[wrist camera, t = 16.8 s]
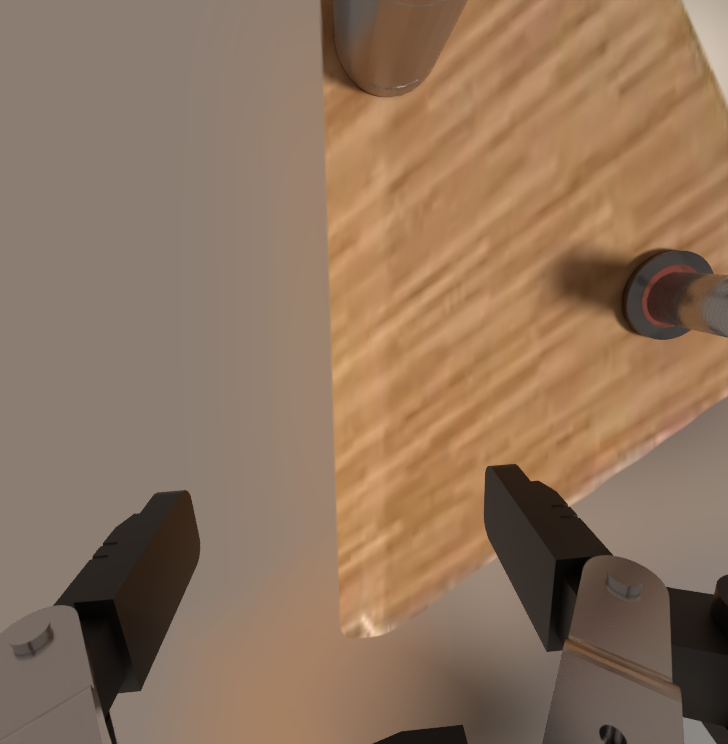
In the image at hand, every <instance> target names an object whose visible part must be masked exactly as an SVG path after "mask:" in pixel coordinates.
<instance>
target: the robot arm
mask: <svg viewBox="0 0 728 744" xmlns="http://www.w3.org/2000/svg"><path fill="white" fill-rule="evenodd" d="M467 1H468V0H334V4H333V5H334V38H335V46H336V51H337V55H338V58H339V60H340V62H341V65H342V67H343V69H344V70H345V72H346V73H347V75H348V76H349V77H350V79H351V80H352V81H353V82H354V83H355V84H356V85H358V86H359V87H360V88H362V89H363V90H365V91H367V92H368V93H371V94H374V95H377V96H382V97H394V96H400V95H403V94H405V93H407V92H410V91H412V90H413V89H414V88H416V87H417V86H418V85H420V84H421V83H422V82H423V81H424V80H425V78H426V77H427V76H428V75H429V73H430V71H431V70H432V68H433V66H434V65H435V63H436V61H437V59H438V57H439V55H440V53H441V51H442V49H443V48H444V46H445V44H446V42H447V40H448V38H449V36H450V34H451V32H452V30H453V28H454V26H455V24H456V22H457V20H458V18H459V17H460V15H461V13H462V11H463V9H464V7H465V5H466V3H467ZM484 523H485V528H486V532H487V536H488V538H489V540H490V542H491V544H492V546H493V548H494V550H495V552H496V554H497V556H498V558H499V560H500V562H501V564H502V566H503V568H504V570H505V571H506V573H507V575H508V577H509V579H510V581H511V583H512V585H513V587H514V589H515V591H516V593H517V595H518V597H519V599H520V601H521V603H522V604H523V606H524V608H525V610H526V612H527V614H528V616H529V618H530V620H531V622H532V624H533V626H534V628H535V630H536V632H537V633H538V636H539V637H540V640H541V641H542V643H543V645H544V647H545V649H546V651H547V652H550V651H560V650H563V651H562V656H561V661H560V665H559V670H558V674H557V679H556V683H555V688H554V692H553V697H552V702H551V706H550V711H549V715H548V720H547V724H546V729H545V733H544V738H543V742H542V744H684V732H683V717H685V718H690V719H694V720H698V721H701V722H702V723H703V725H704V726H705V728H706V729H707V730H708V732H709V733H710V735H711V736H712V737H713V739H714V740H715V742H716V743H717V744H728V575H725V576H723V577H721V578H720V579H719V580H718V581H717V584H716V589H715V593H714V595H712V594H706V593H700V592H693V591H687V590H681V589H674V588H669V587H666V586H665V585H664V583H663V582H662V581H661V579H659V578H658V576H657V575H655V574H654V573H653V572H652V571H650V570H649V569H647V568H646V567H644V566H642V565H640V564H638V563H636V562H634V561H631V560H628V559H626V558H622V557H617V556H613V555H612V553H611V552H610V551H609V550H608V549H607V548H606V547H605V546H604V544H602V542H601V541H600V540H599V539H598V538H597V537H596V536H595V534H594V533H593V532H592V531H591V530H590V529H589V528H588V527H587V525H586V524H585V523H584V522H583V521H582V520H581V519H580V518H578V517H577V514H576V513H575V512H574V511H573V510H572V509H571V507H568V504H567V503H566V502H565V501H564V500H563V498H562V497H561V496H560V495H559V494H558V493H557V492H556V491H555V490H553V489H551V488H550V487H548V486H546V485H545V484H543V483H541V482H540V481H530V480H529V479H528V477H527V476H526V475H525V474H524V473H523V471H522V470H521V469H520V468H519V466H518V465H516V464H508V465H496V466H488V467H487V468H486V472H485V496H484ZM199 555H200V539H199V533H198V529H197V524H196V519H195V514H194V510H193V505H192V500H191V496H190V494H189V492H188V491H186V490H183V491H171V492H158V493H156V494H154V495H153V497H152V498H151V499H150V501H149V502H148V503H147V505H146V506H145V507H144V509H143V510H142V511H141V513H140V514H133V515H132V516H131V517H129V518H128V519H127V520H125V521H124V522H123V523H121V524H120V525H119V526H117V527H116V528H115V529H114V530H113V532H112V533H111V534H110V535H109V536H108V538H107V539H106V540H105V541H104V543H103V546H101V547H100V548H99V549H98V550H97V551H96V553H95V554H94V555H93V559H92V560H89V562H88V563H87V564H86V565H85V567H84V568H83V569H82V570H81V572H80V573H79V574H78V575H77V577H76V578H75V579H74V580H73V582H72V583H71V584H70V585H69V587H68V588H67V589H66V590H65V592H64V593H63V594H62V595H61V597H60V598H59V599H58V601H57V602H56V603H55V604H54V605H53V606H52V607H47V608H44V609H41V610H38V611H36V612H33V613H31V614H29V615H27V616H25V617H23V618H21V619H20V620H18V621H17V622H15V623H13V624H12V625H11V626H9V627H8V628H7V629H5V630H4V631H3V632H2V633H0V744H119V742H118V738H117V734H116V730H115V726H114V722H113V718H112V715H111V712H110V708H111V706H112V704H113V702H114V700H115V698H116V696H117V694H118V693H125V692H135V691H141V689H142V687H143V685H144V682H145V680H146V678H147V676H148V673H149V671H150V669H151V666H152V664H153V662H154V660H155V658H156V655H157V653H158V651H159V649H160V646H161V644H162V642H163V640H164V638H165V635H166V633H167V631H168V628H169V626H170V624H171V622H172V620H173V617H174V615H175V613H176V611H177V608H178V606H179V604H180V602H181V599H182V597H183V595H184V593H185V591H186V588H187V586H188V584H189V582H190V579H191V577H192V575H193V572H194V570H195V568H196V566H197V563H198V560H199ZM373 744H468V743H467V740H466V736H465V732H464V728H463V725H457V726H448V727H439V728H429V729H420V730H411V731H402V732H399V733H397V734H394V735H392V736H390V737H388V738H385V739H383V740H380V741H378V742H376V743H373Z"/></svg>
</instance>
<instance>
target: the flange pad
mask: <svg viewBox="0 0 728 744" xmlns="http://www.w3.org/2000/svg"><path fill="white" fill-rule="evenodd" d="M672 272H687V273H703V274H713V271H712V269H711V267H710V265H709V264H708V262H707V261H706V260H705V259H704V258H702V257H701V256H699V255H697V254H695V253H693V252H689V251H667V252H662V253H659V254H657V255H654V256H652V257H651V258H649V259H647V260H646V261H645V262H643V263H642V264H641V265H640V266H639V267H638V268H637V269H636V270H635V272H634V273H633V274H632V276H631V277H630V279H629V281H628V283H627V285H626V288H625V291H624V295H623V312H624V316H625V318H626V321H627V322H628V324H629V325H630V327H631V328H632V329H633V330H634V331H636V332H637V333H639V334H641V335H643V336H646V337H650V338H653V339H659V340H667V339H672V338H676V337H679V336H681V335H683V334H685V333H687V332H689V331H690V330H691V329H687V328H682V327H678V326H673V325H669V324H665V323H660V322H658V321H656V320H654V319H653V318H652V317H651V316H650V314H649V312H648V309H647V298H648V294H649V292H650V290H651V288H652V286H653V285H654V284H655V282H656V281H657V280H659V279H660V278H661V277H662V276H664V275H666V274H669V273H672Z"/></svg>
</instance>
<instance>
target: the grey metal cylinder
mask: <svg viewBox="0 0 728 744" xmlns="http://www.w3.org/2000/svg"><path fill="white" fill-rule="evenodd" d="M647 309H648V312H649V314H650V316H651V317H652V318H653V319H654V320H656V321H658V322H660V323H665V324H669V325H673V326H678V327H682V328H687V329H691V330H696V331H700V332H705V333H709V334H714V335H718V336H723V337H727V338H728V275H719V274H703V273H687V272H672V273H669V274H666V275H664V276H662V277H661V278H660V279H659V280H657V281H656V282H655V284H654V285H653V286H652V288H651V290H650V292H649V294H648V298H647Z"/></svg>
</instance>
